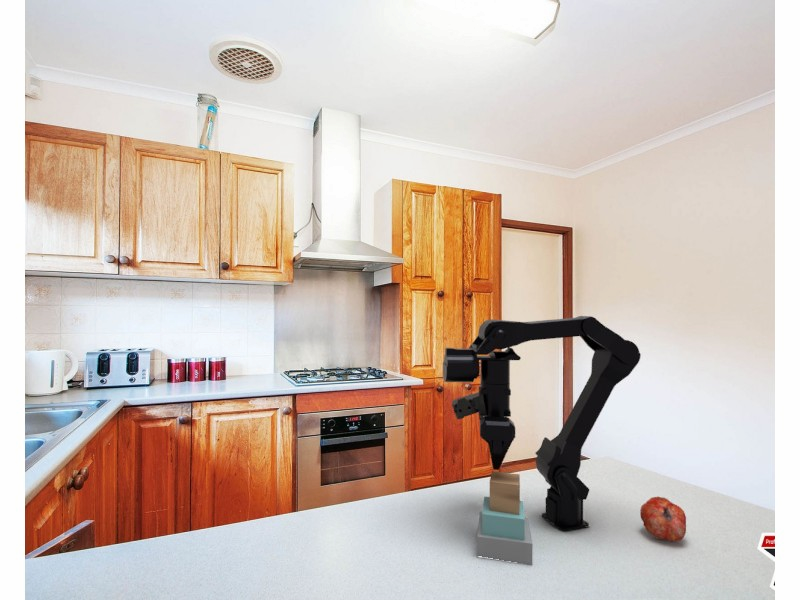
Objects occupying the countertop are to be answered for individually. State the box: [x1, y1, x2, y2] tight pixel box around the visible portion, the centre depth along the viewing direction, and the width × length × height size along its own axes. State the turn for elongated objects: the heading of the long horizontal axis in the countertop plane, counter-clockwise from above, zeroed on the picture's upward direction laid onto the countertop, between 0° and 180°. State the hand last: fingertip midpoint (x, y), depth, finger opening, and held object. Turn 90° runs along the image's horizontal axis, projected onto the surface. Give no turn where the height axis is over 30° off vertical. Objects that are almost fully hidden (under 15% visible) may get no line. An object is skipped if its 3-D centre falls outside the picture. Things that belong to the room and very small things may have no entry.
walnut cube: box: [489, 470, 521, 514], centre depth 76 cm, size 5×5×5 cm
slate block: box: [476, 511, 533, 566], centre depth 75 cm, size 9×9×4 cm
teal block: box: [481, 496, 525, 540], centre depth 75 cm, size 7×7×4 cm
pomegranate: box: [639, 496, 687, 543], centre depth 79 cm, size 7×7×10 cm
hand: (494, 460), depth 84 cm, fingers open, 9 cm apart
